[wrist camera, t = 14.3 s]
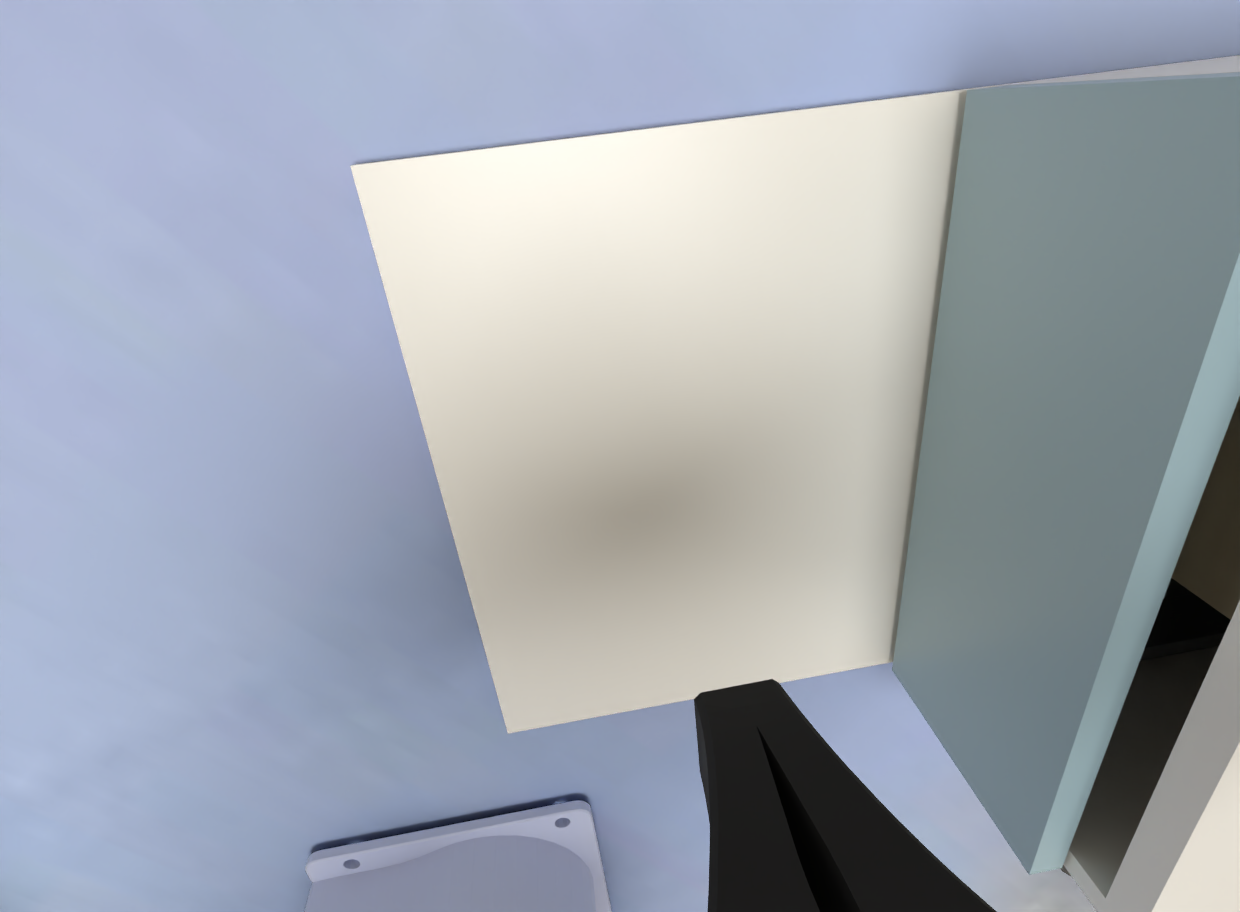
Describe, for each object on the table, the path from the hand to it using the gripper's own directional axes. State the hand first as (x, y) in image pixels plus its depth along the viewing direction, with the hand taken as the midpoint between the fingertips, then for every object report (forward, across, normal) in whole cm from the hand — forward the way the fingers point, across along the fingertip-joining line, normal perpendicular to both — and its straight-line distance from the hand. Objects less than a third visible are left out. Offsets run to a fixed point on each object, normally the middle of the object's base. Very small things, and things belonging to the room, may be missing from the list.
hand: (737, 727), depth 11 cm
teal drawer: (+7, -13, -1) cm, 15 cm away
